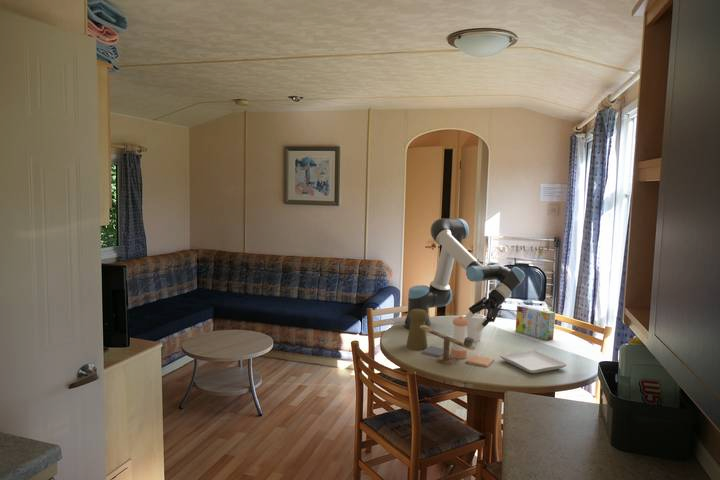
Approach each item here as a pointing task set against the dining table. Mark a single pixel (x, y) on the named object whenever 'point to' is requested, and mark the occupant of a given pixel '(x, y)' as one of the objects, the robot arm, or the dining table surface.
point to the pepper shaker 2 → (459, 337)
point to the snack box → (535, 322)
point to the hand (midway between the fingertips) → (470, 326)
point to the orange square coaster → (480, 360)
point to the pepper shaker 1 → (417, 330)
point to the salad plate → (533, 361)
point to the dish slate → (433, 351)
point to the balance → (447, 340)
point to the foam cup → (474, 327)
